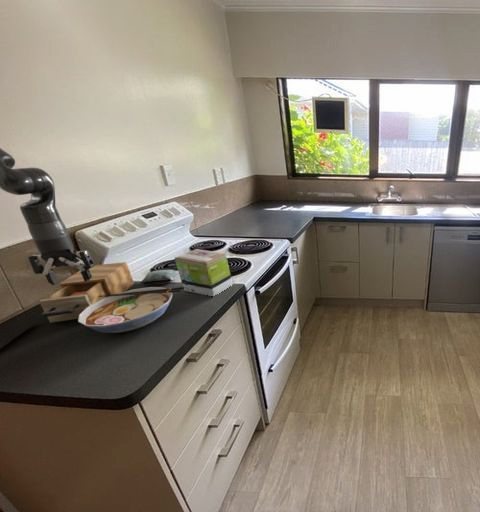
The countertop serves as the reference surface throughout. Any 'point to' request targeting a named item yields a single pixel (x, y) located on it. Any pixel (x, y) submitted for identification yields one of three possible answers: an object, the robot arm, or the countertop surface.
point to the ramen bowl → (127, 309)
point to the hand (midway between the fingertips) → (71, 282)
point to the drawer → (72, 301)
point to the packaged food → (159, 277)
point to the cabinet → (106, 277)
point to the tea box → (204, 272)
